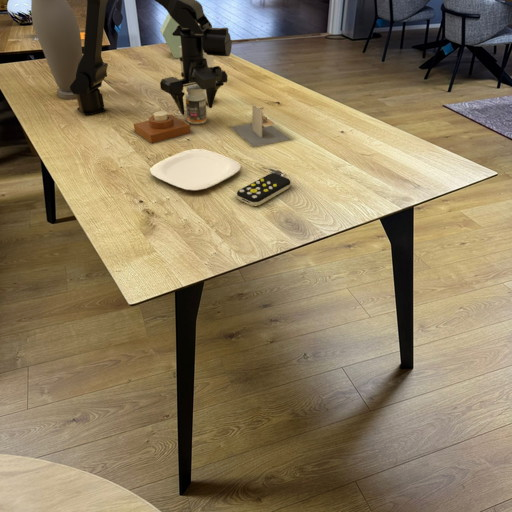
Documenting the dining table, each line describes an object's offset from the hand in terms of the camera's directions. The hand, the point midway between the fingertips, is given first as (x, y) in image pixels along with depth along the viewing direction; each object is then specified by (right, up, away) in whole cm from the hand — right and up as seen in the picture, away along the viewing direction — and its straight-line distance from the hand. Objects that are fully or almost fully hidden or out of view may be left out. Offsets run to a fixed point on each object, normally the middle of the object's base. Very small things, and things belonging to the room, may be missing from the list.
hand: (196, 111), depth 137 cm
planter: (-11, +41, +61) cm, 74 cm away
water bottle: (+1, +8, +16) cm, 17 cm away
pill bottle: (0, -2, +2) cm, 3 cm away
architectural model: (+18, -8, -5) cm, 20 cm away
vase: (-44, +12, +21) cm, 50 cm away
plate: (+3, -22, -25) cm, 33 cm away
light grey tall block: (-5, +20, +32) cm, 37 cm away
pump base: (-9, -7, -5) cm, 12 cm away
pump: (-9, -4, -7) cm, 12 cm away
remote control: (+19, -28, -32) cm, 46 cm away
